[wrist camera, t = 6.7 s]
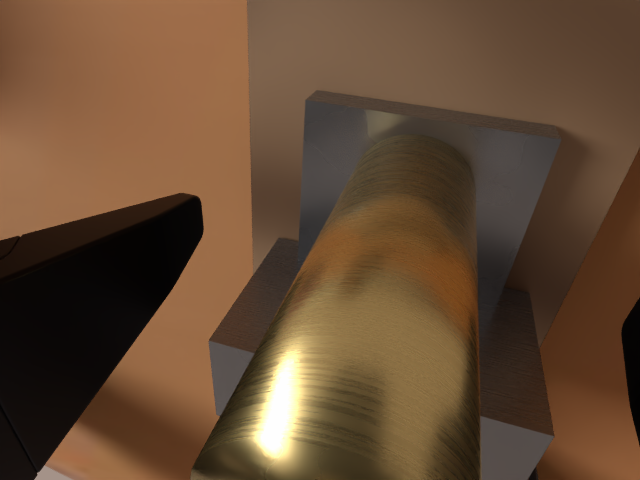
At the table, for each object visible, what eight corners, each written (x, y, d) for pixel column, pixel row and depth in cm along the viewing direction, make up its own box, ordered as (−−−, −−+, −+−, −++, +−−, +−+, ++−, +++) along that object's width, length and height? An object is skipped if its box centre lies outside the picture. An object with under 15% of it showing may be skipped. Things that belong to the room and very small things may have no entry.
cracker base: (469, 456, 20) (469, 630, 15) (268, 397, 22) (206, 532, 17) (808, -275, 8) (1541, -776, 2) (269, -267, 10) (26, -534, 4)
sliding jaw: (499, 360, 15) (530, 780, 7) (277, 304, 16) (112, 602, 9) (599, 131, 10) (941, 602, 3) (281, 84, 12) (-45, 307, 4)
